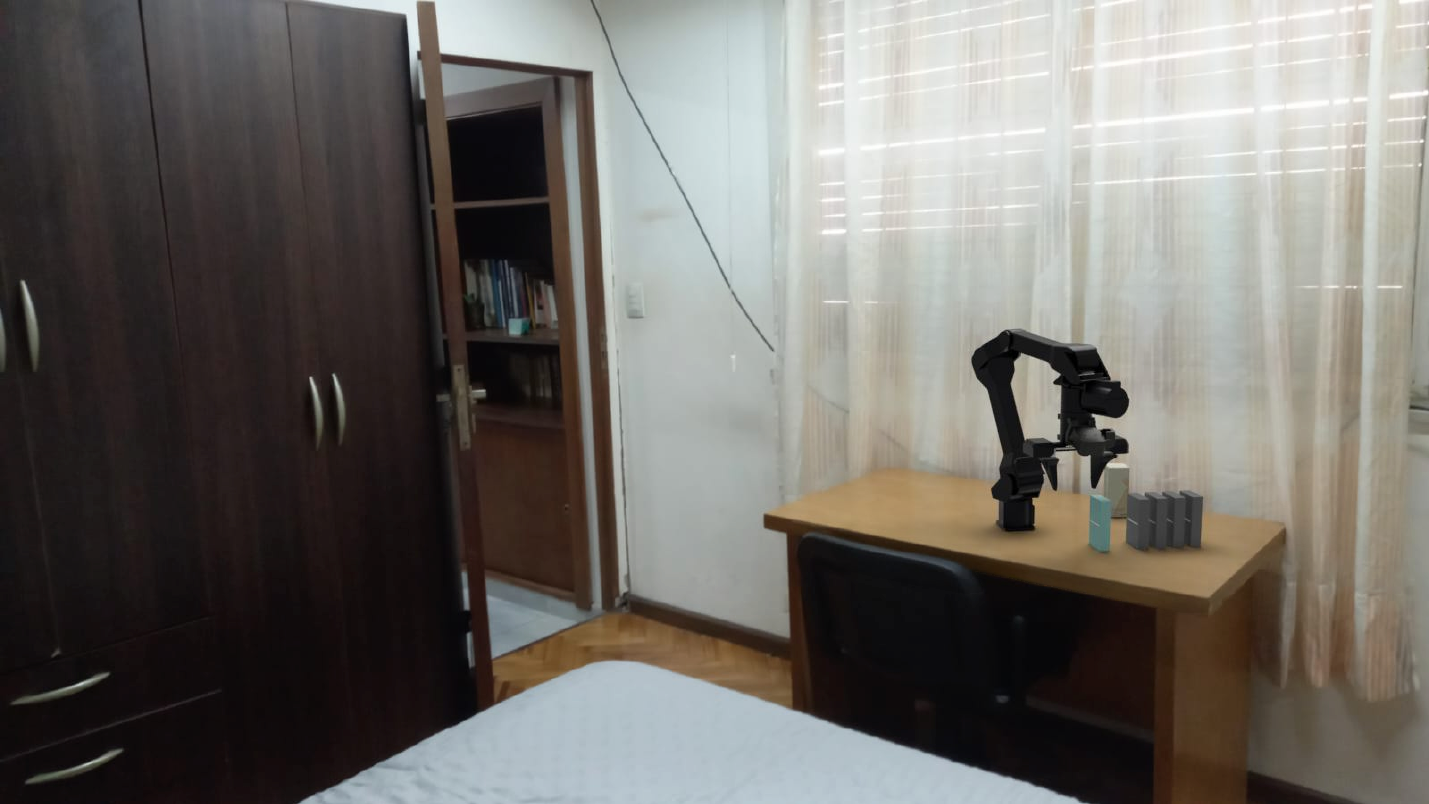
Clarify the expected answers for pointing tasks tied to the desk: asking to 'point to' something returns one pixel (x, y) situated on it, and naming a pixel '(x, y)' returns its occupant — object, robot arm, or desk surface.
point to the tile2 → (1137, 521)
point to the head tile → (1100, 522)
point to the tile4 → (1175, 519)
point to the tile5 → (1192, 518)
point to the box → (1117, 487)
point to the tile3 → (1157, 520)
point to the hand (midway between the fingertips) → (1074, 489)
